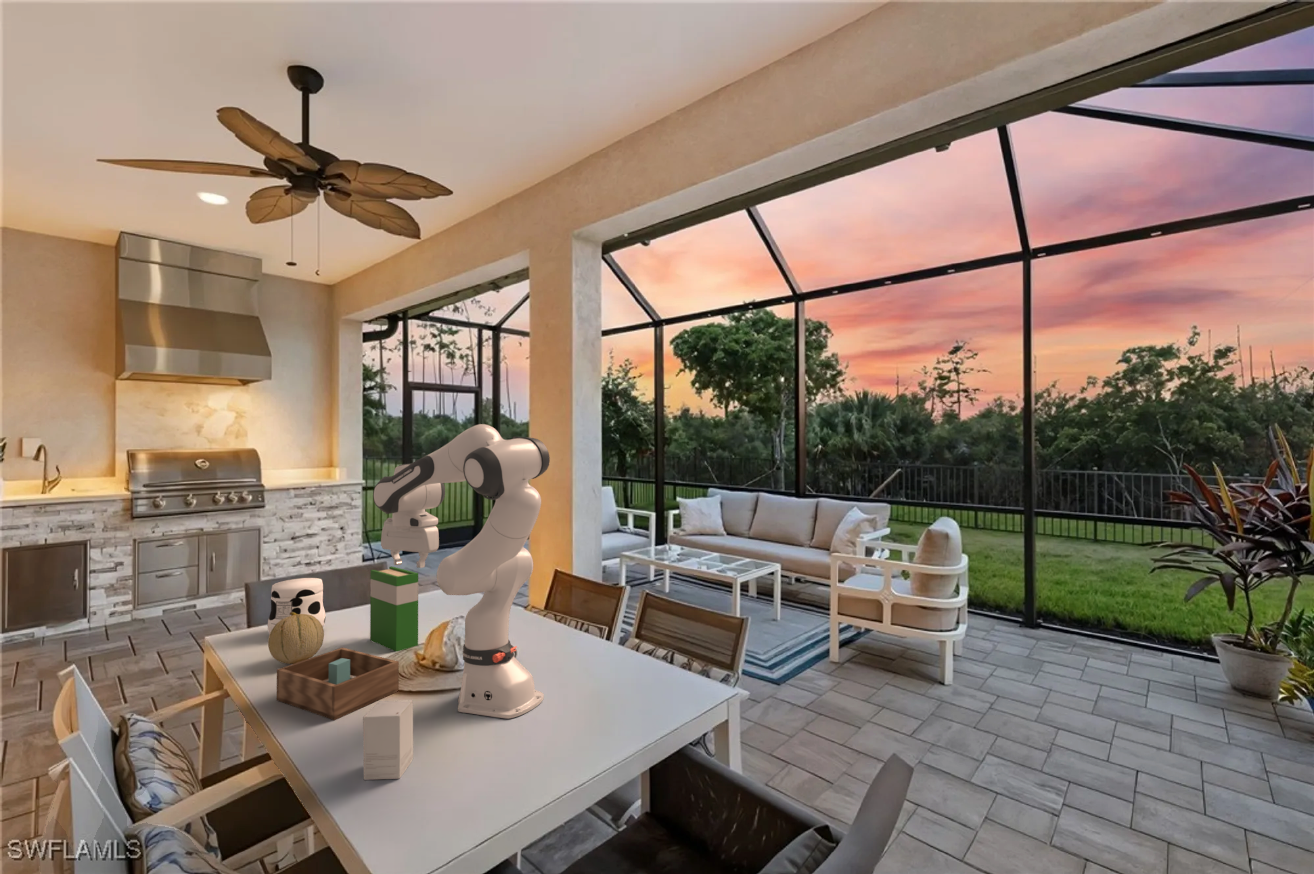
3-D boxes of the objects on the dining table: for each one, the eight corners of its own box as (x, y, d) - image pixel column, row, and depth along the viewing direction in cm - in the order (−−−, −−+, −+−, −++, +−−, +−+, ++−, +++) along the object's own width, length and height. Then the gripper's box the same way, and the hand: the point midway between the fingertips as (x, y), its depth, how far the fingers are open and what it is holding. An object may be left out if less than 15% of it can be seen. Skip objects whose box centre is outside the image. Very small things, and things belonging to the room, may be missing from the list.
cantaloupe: (297, 673, 164) (297, 621, 164) (255, 669, 167) (255, 619, 167) (335, 655, 178) (335, 607, 179) (296, 651, 181) (296, 605, 182)
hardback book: (370, 640, 192) (370, 570, 192) (391, 634, 198) (391, 566, 198) (396, 651, 181) (396, 577, 182) (418, 645, 187) (418, 573, 187)
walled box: (398, 691, 152) (398, 661, 152) (334, 720, 136) (334, 686, 136) (342, 675, 163) (342, 647, 163) (276, 700, 147) (276, 669, 147)
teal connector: (349, 689, 151) (350, 659, 151) (336, 695, 147) (337, 664, 147) (341, 687, 152) (341, 657, 152) (328, 693, 148) (328, 663, 148)
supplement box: (414, 758, 119) (414, 698, 119) (399, 779, 112) (399, 715, 112) (379, 759, 119) (379, 699, 119) (361, 780, 111) (362, 716, 111)
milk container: (321, 622, 211) (321, 574, 212) (329, 634, 198) (329, 583, 198) (265, 632, 200) (265, 582, 201) (270, 645, 187) (270, 591, 187)
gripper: (375, 518, 166) (375, 565, 166) (425, 521, 158) (425, 570, 157) (393, 516, 172) (393, 561, 172) (442, 518, 163) (442, 566, 163)
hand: (409, 566), depth 164 cm, fingers open, 8 cm apart
